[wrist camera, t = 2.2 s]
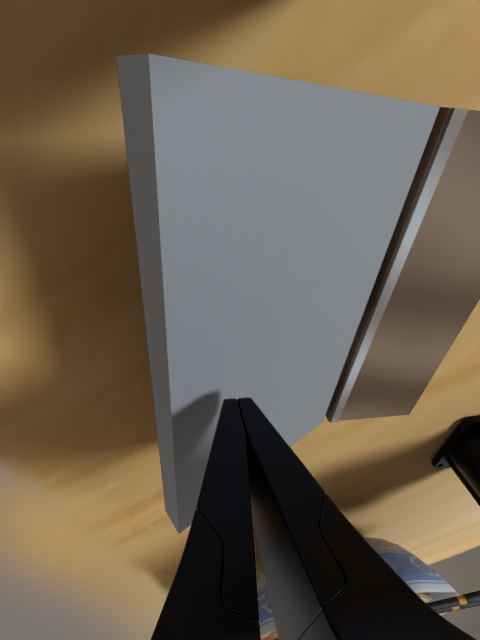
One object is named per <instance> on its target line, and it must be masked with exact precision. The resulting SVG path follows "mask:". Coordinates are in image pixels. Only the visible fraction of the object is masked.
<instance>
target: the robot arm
mask: <svg viewBox="0 0 480 640" xmlns="http://www.w3.org/2000/svg"><path fill="white" fill-rule="evenodd" d="M432 465H433V466H434V468H435V469H440V468H448V467H451V468H452V469H453V471H454V472H455V473H456V475H457V476H458V477H459V479H460V480H461V481H462V483H463V484H464V486H465V487H466V488H467V490H468V491H469V492H470V494H471V495H472V496H473V498H474V499H475V500H476V502H477V503H478V505H479V506H480V417H473V418H469V419H466V420H465V421H464V422H463V423H462V424H461V426H460V427H459V428H458V429H457V431H456V432H455V433H454V435H453V436H452V437H451V438H450V440H449V441H448V442H447V444H446V445H445V446H444V447H443V449H442V450H441V451H440V453H439V454H438V455H437V456H436V458H435V459H434V460H433V462H432ZM324 493H325V492H324V490H323V489H322V487H321V486H320V485H319V484H318V482H317V481H316V480H315V478H314V477H313V476H312V475H311V473H310V472H309V471H308V470H307V468H306V467H305V466H304V464H303V463H302V462H301V461H300V459H299V458H298V457H297V456H296V454H295V453H294V452H293V450H292V449H291V448H290V447H289V445H288V444H287V443H286V441H285V440H284V439H283V438H282V436H281V435H280V434H279V433H278V431H277V430H276V429H275V427H274V426H273V425H272V424H271V422H270V421H269V420H268V419H267V417H266V416H265V415H264V413H263V412H262V411H261V410H260V408H259V407H258V406H257V405H256V403H255V402H254V401H253V399H252V398H250V397H245V398H238V399H236V398H230V399H224V400H223V403H222V407H221V411H220V415H219V419H218V423H217V427H216V431H215V435H214V439H213V442H212V446H211V450H210V454H209V458H208V462H207V466H206V470H205V474H204V478H203V482H202V486H201V490H200V493H199V497H198V501H197V505H196V511H195V512H194V516H193V520H192V524H191V528H190V531H189V535H188V538H187V542H186V545H185V549H184V552H183V555H182V557H181V560H180V563H179V566H178V569H177V572H176V575H175V577H174V580H173V583H172V585H171V588H170V590H169V593H168V596H167V598H166V601H165V604H164V606H163V609H162V611H161V614H160V617H159V620H158V622H157V625H156V627H155V630H154V632H153V635H152V638H151V640H261V636H260V624H259V622H258V621H259V608H258V594H257V580H256V566H255V552H254V538H253V529H254V533H255V537H256V542H257V546H258V551H259V555H260V559H261V564H262V568H263V573H264V577H265V582H266V586H267V590H268V595H269V599H270V604H271V608H272V612H273V617H274V621H275V626H276V630H277V634H278V639H279V640H476V639H474V638H473V637H472V636H470V635H468V634H467V633H465V632H464V631H462V630H461V629H459V628H458V627H456V626H455V625H453V624H452V623H450V622H449V621H447V620H446V619H445V618H443V617H442V616H441V615H439V614H438V613H437V612H436V611H434V610H433V609H432V608H431V607H430V606H429V605H427V604H426V603H425V602H424V601H423V600H422V599H421V598H420V597H419V596H418V595H417V594H416V593H415V592H414V591H413V590H412V589H411V588H410V587H409V586H408V585H407V584H406V582H405V581H404V580H403V579H402V578H401V577H400V576H399V575H398V574H397V573H396V572H395V571H394V570H393V569H392V568H391V567H390V566H389V564H388V563H387V562H386V561H385V560H384V559H383V558H382V557H381V556H380V555H379V554H378V553H377V552H376V551H375V550H374V549H373V548H372V546H371V545H370V544H369V543H368V542H367V541H366V540H365V539H364V538H363V537H362V536H361V534H360V533H359V532H358V531H357V530H356V529H355V528H354V527H353V526H352V525H351V523H350V522H349V521H348V520H347V519H346V517H345V516H344V515H343V514H342V512H341V511H340V510H339V509H338V508H337V506H336V505H335V504H334V503H333V501H332V500H331V499H330V497H329V496H328V495H327V494H324Z"/></svg>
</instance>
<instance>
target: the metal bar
mask: <svg viewBox="0 0 480 640" xmlns="http://www.w3.org/2000/svg"><path fill="white" fill-rule="evenodd" d="M479 299H480V111H474V110H467V109H459V108H444V107H440V109H439V111H438V114H437V117H436V119H435V122H434V125H433V127H432V130H431V133H430V135H429V138H428V141H427V143H426V146H425V149H424V152H423V154H422V157H421V160H420V162H419V165H418V168H417V170H416V173H415V176H414V178H413V181H412V184H411V186H410V189H409V192H408V195H407V197H406V200H405V203H404V205H403V208H402V211H401V213H400V216H399V219H398V221H397V224H396V227H395V229H394V232H393V235H392V237H391V240H390V243H389V246H388V248H387V251H386V254H385V256H384V259H383V262H382V264H381V267H380V270H379V272H378V275H377V278H376V280H375V283H374V286H373V289H372V291H371V294H370V297H369V299H368V302H367V305H366V307H365V310H364V313H363V315H362V318H361V321H360V323H359V326H358V329H357V331H356V334H355V337H354V340H353V342H352V345H351V348H350V350H349V353H348V356H347V358H346V361H345V364H344V366H343V369H342V372H341V374H340V377H339V380H338V383H337V385H336V388H335V391H334V393H333V396H332V399H331V401H330V404H329V407H328V409H327V412H326V417H327V419H328V421H330V422H331V423H332V422H338V421H339V420H351V419H363V418H375V417H386V416H398V415H409V414H410V413H411V411H412V409H413V408H414V406H415V404H416V403H417V401H418V399H419V398H420V396H421V395H422V393H423V391H424V390H425V388H426V386H427V385H428V383H429V381H430V380H431V378H432V376H433V375H434V373H435V372H436V370H437V368H438V367H439V365H440V363H441V362H442V360H443V358H444V357H445V355H446V353H447V352H448V350H449V349H450V347H451V345H452V344H453V342H454V340H455V339H456V337H457V335H458V334H459V332H460V330H461V329H462V327H463V326H464V324H465V322H466V321H467V319H468V317H469V316H470V314H471V312H472V311H473V309H474V307H475V306H476V304H477V303H478V301H479Z"/></svg>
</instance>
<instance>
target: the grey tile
mask: <svg viewBox="0 0 480 640" xmlns="http://www.w3.org/2000/svg"><path fill="white" fill-rule="evenodd" d="M116 59H117V68H118V77H119V86H120V96H121V105H122V114H123V123H124V132H125V142H126V151H127V160H128V169H129V178H130V188H131V197H132V206H133V215H134V224H135V234H136V243H137V252H138V261H139V270H140V280H141V289H142V298H143V307H144V316H145V326H146V335H147V344H148V353H149V362H150V372H151V381H152V390H153V399H154V408H155V418H156V427H157V436H158V445H159V454H160V463H161V473H162V482H163V491H164V500H165V509H166V512H167V514H168V515H169V517H170V519H171V521H172V523H173V524H174V526H175V528H176V530H177V531H178V533H181V532H182V531H183V530H185V529H186V528H187V527H188V526H190V525H191V524H192V520H193V516H194V512H195V511H196V505H197V501H198V497H199V493H200V490H201V486H202V482H203V478H204V474H205V470H206V466H207V462H208V458H209V454H210V450H211V446H212V442H213V439H214V435H215V431H216V427H217V423H218V419H219V415H220V411H221V407H222V403H223V400H224V399H230V398H236V399H238V398H245V397H250V398H252V399H253V401H254V402H255V403H256V405H257V406H258V407H259V408H260V410H261V411H262V412H263V413H264V415H265V416H266V417H267V419H268V420H269V421H270V422H271V424H272V425H273V426H274V427H275V429H276V430H277V431H278V433H279V434H280V435H281V436H282V438H283V439H284V440H285V441H286V443H287V444H288V445H289V447H291V446H292V445H294V444H295V443H296V442H298V441H299V440H300V439H301V438H303V437H304V436H305V435H307V434H308V433H309V432H310V431H312V430H313V429H314V428H316V427H317V426H318V425H319V424H321V423H322V422H323V420H324V417H325V415H326V412H327V409H328V407H329V404H330V401H331V399H332V396H333V393H334V391H335V388H336V385H337V383H338V380H339V377H340V374H341V372H342V369H343V366H344V364H345V361H346V358H347V356H348V353H349V350H350V348H351V345H352V342H353V340H354V337H355V334H356V331H357V329H358V326H359V323H360V321H361V318H362V315H363V313H364V310H365V307H366V305H367V302H368V299H369V297H370V294H371V291H372V289H373V286H374V283H375V280H376V278H377V275H378V272H379V270H380V267H381V264H382V262H383V259H384V256H385V254H386V251H387V248H388V246H389V243H390V240H391V237H392V235H393V232H394V229H395V227H396V224H397V221H398V219H399V216H400V213H401V211H402V208H403V205H404V203H405V200H406V197H407V195H408V192H409V189H410V186H411V184H412V181H413V178H414V176H415V173H416V170H417V168H418V165H419V162H420V160H421V157H422V154H423V152H424V149H425V146H426V143H427V141H428V138H429V135H430V133H431V130H432V127H433V125H434V122H435V119H436V117H437V114H438V111H439V109H440V106H434V105H429V104H423V103H418V102H412V101H407V100H401V99H396V98H391V97H385V96H380V95H374V94H369V93H363V92H358V91H352V90H347V89H341V88H336V87H330V86H325V85H319V84H314V83H308V82H303V81H297V80H292V79H286V78H281V77H275V76H270V75H264V74H259V73H253V72H248V71H242V70H237V69H231V68H226V67H221V66H215V65H210V64H204V63H199V62H193V61H188V60H182V59H177V58H171V57H166V56H160V55H155V54H149V53H147V54H134V55H121V56H116Z"/></svg>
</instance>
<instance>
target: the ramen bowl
mask: <svg viewBox="0 0 480 640" xmlns="http://www.w3.org/2000/svg"><path fill="white" fill-rule="evenodd" d="M363 538H364V539H365V540H366V541H367V542H368V543H369V544H370V545H371V546H372V548H373V549H374V550H375V551H376V552H377V553H378V554H379V555H380V556H381V557H382V558H383V559H384V560H385V561H386V562H387V563H388V564H389V566H390V567H391V568H392V569H393V570H394V571H395V572H396V573H397V574H398V575H399V576H400V577H401V578H402V579H403V580H404V581H405V582H406V584H407V585H408V586H409V587H410V588H411V589H412V590H413V591H414V592H415V593H416V594H417V595H418V596H419V597H420V598H421V599H422V600H423V601H424V602H425V603H426V604H427V605H429V606H430V607H431V608H432V609H433V610H434V611H436V612H437V613H438V614H439V615H442V614H445V613H446V612H450V611H453V610H459V609H465V608H470V607H475V606H480V591H476V592H472V593H468V594H463V595H462V596H460V595H459V594H458V593H457V592H456V591H455V590H454V589H453V588H452V587H451V586H450V585H448V584H447V583H446V582H445V581H444V580H443V579H442V578H441V577H440V576H439V575H438V574H437V573H436V572H435V571H434V570H432V569H431V568H430V567H429V566H428V565H426V564H425V563H424V562H422V561H421V560H420V559H419V558H417V557H416V556H415V555H413V554H412V553H410V552H408V551H407V550H405V549H404V548H402V547H401V546H399V545H397V544H394V543H391V542H388V541H386V540H383V539H376V538H368V537H363ZM257 594H258V608H259V621H258V622H259V624H260V636H261V640H279V639H278V634H277V630H276V626H275V621H274V617H273V612H272V608H271V604H270V599H269V595H268V590H267V586H266V582H265V577H264V573H263V572H262V573H261V575H260V576H259V577H258V579H257Z"/></svg>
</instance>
